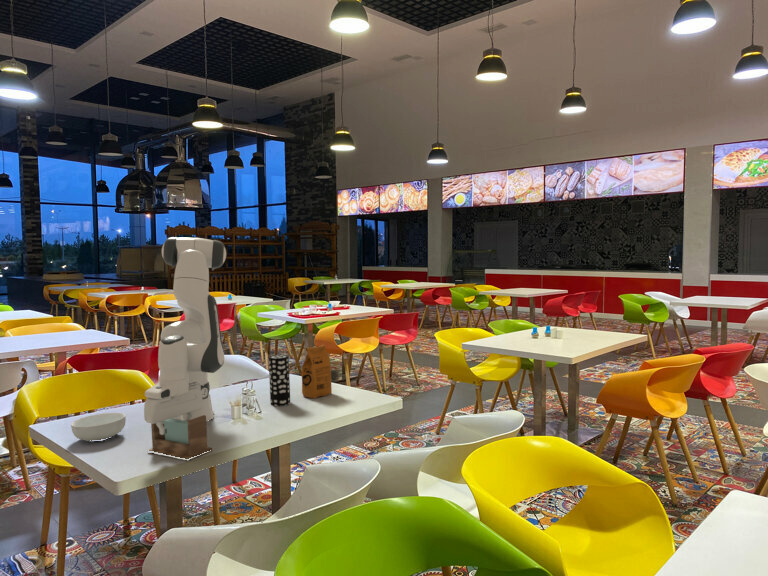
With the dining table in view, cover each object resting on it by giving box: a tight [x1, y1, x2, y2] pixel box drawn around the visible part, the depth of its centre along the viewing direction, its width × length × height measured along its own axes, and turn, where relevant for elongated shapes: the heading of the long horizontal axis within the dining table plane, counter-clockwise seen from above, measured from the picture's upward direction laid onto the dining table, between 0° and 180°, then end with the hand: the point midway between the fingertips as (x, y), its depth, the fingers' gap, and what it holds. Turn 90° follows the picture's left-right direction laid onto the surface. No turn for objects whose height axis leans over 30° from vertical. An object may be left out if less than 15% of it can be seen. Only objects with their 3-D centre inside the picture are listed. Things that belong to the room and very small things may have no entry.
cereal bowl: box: [70, 412, 127, 442], centre depth 193 cm, size 17×17×7 cm
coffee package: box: [301, 344, 333, 399], centre depth 245 cm, size 10×12×22 cm
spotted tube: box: [268, 354, 291, 407], centre depth 233 cm, size 8×8×20 cm
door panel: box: [164, 419, 189, 444], centre depth 176 cm, size 11×2×9 cm, turn 61°
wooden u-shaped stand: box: [148, 415, 213, 459], centre depth 176 cm, size 18×10×12 cm, turn 61°
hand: (175, 429), depth 176 cm, fingers open, 8 cm apart
